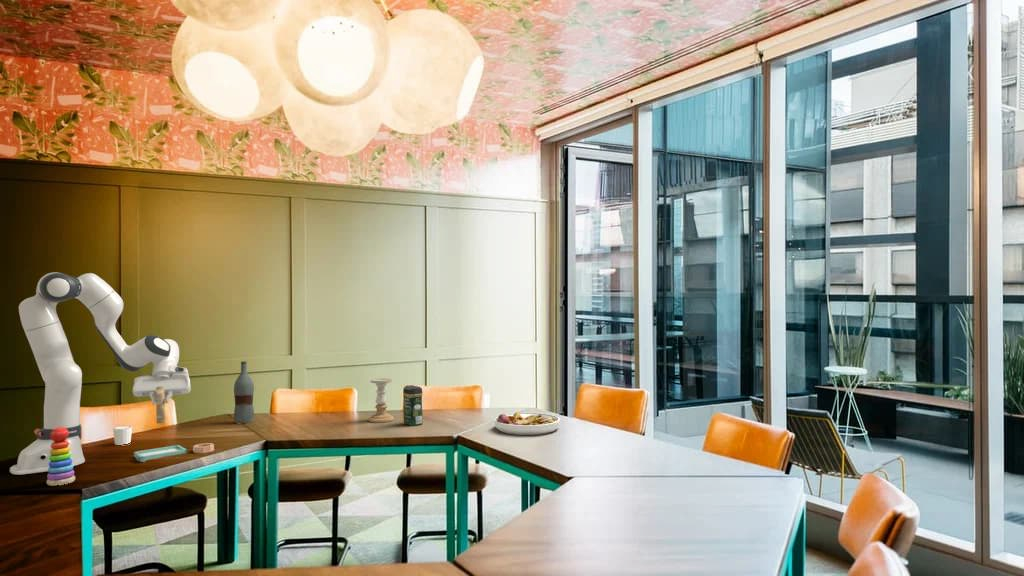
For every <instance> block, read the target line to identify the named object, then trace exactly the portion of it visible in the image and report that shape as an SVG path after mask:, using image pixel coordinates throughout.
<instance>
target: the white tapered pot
mask: <svg viewBox="0 0 1024 576" xmlns="http://www.w3.org/2000/svg"><path fill="white" fill-rule="evenodd" d="M112 430H113V431H112V432H113V438H114V440H113V441H114V445H115V444H116V445H122V446H124V445H123V444H128V443H130V442H131V440H132V434H133V433H132V432H133V431H132V430H133V426H132V425H131V426H130V425H128V426H127V425H125V426H124V425H123V426H118V427H116V426H115V427H114V428H113V429H112ZM130 444H131V443H130ZM116 445H115V446H116ZM128 445H129V444H128Z"/></svg>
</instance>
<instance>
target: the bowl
mask: <svg viewBox="0 0 1024 576" xmlns="http://www.w3.org/2000/svg"><path fill="white" fill-rule="evenodd" d="M493 421H494V426H495V428H496V429H497V430H498V431H500V432H502V433H504V434H508V435H515V436H516V435H518V436H536V435H538V436H539V435H546V434H549V433H553V432H554V431H556V430H557V429H558V428H559V426H560V423H561V419H560V417H558V416H557V415H553V414H548V413H539V412H515V413H507V414H504V413H502V414H499V416H496V417H495V418H494V420H493Z"/></svg>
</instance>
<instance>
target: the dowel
mask: <svg viewBox="0 0 1024 576" xmlns="http://www.w3.org/2000/svg"><path fill="white" fill-rule="evenodd" d="M164 397H165V395H164V387H163V386H161V387H156V395H155V398H156V404H155V406H156V407H155V409H156V412H155V413H156V414H155V415H156V424H165V422H166V421H165V418H166V416H165V415H166V413H165V411H166V410H165V407H166V406H165V404H166V403H164Z"/></svg>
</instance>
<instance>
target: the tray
mask: <svg viewBox="0 0 1024 576" xmlns="http://www.w3.org/2000/svg"><path fill="white" fill-rule="evenodd" d="M185 454H188V449H187V448H185V447H183V446H181V445H179V444H177V445H170V446H164V447H156V448H151V449H144V450H138V451H134V452H133V458H134V457H135V458H136V459H135V458H134V459H135V460H136V461H138V462H139V461H140V462H143V463H147V462H146V461H149V460H154V459H160V458H167V457H173V456H179V455H185ZM140 462H139V463H140Z"/></svg>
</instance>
